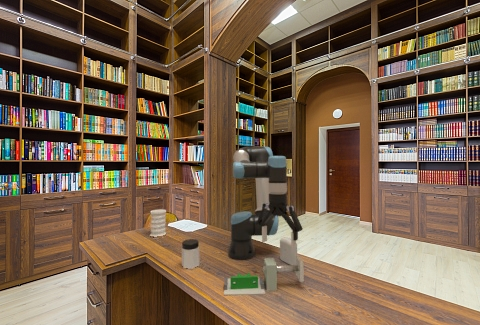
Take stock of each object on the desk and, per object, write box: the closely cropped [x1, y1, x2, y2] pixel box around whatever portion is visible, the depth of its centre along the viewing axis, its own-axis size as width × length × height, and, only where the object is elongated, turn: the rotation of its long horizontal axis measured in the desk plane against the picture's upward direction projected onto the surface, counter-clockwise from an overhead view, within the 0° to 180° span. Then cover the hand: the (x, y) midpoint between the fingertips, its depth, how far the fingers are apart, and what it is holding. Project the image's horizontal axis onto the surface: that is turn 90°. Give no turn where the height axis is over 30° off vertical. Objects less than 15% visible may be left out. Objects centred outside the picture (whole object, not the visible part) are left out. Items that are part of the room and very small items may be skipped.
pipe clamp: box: [229, 272, 259, 289], centre depth 90 cm, size 11×4×5 cm, turn 94°
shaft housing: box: [263, 257, 278, 292], centre depth 91 cm, size 7×4×10 cm, turn 1°
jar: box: [181, 238, 200, 270], centre depth 110 cm, size 9×8×12 cm
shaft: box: [262, 255, 305, 283], centre depth 91 cm, size 6×16×8 cm, turn 91°
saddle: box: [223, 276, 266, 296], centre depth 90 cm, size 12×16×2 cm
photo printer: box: [279, 236, 298, 265], centre depth 113 cm, size 10×4×12 cm, turn 29°
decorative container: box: [149, 208, 167, 237], centre depth 158 cm, size 12×12×18 cm
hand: (278, 244), depth 90 cm, fingers open, 13 cm apart
